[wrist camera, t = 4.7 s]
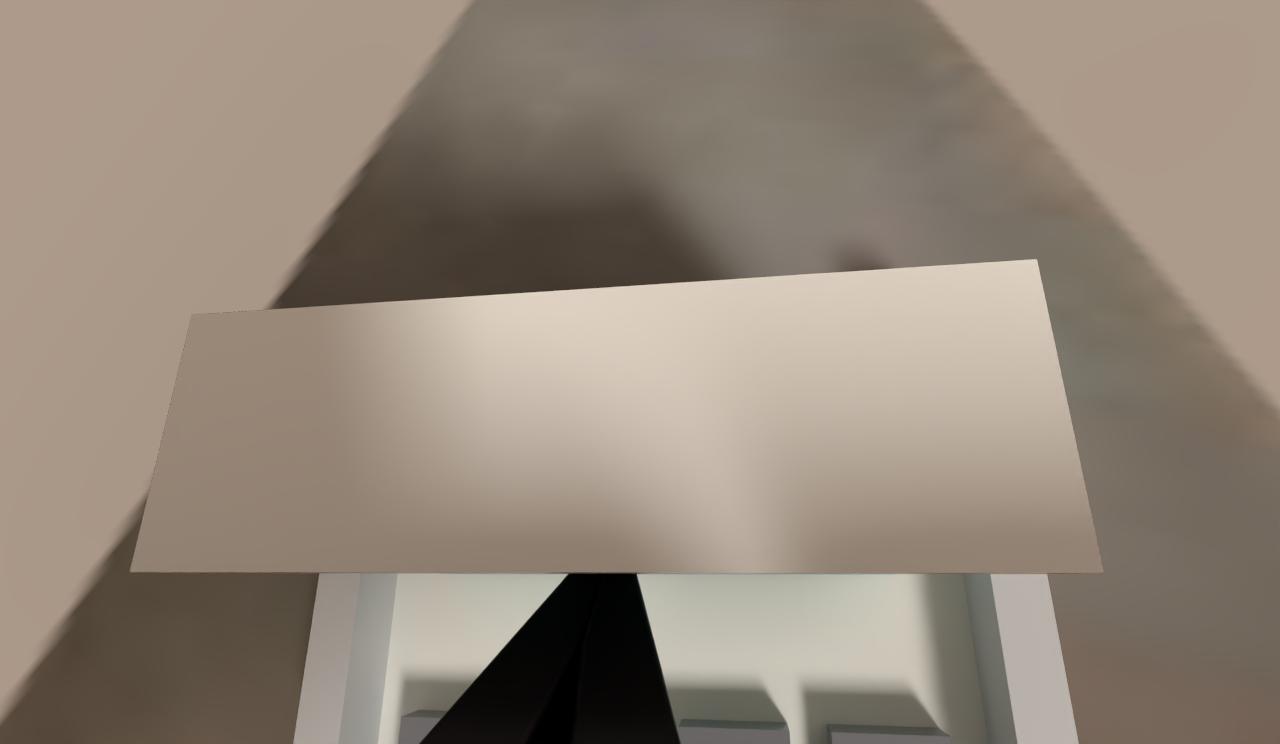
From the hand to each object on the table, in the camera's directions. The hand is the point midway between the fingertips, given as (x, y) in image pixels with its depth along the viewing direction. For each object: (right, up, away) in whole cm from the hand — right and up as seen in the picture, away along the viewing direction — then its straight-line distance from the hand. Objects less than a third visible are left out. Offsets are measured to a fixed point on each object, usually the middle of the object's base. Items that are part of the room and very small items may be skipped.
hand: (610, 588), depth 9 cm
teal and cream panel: (+1, 0, +6) cm, 6 cm away
